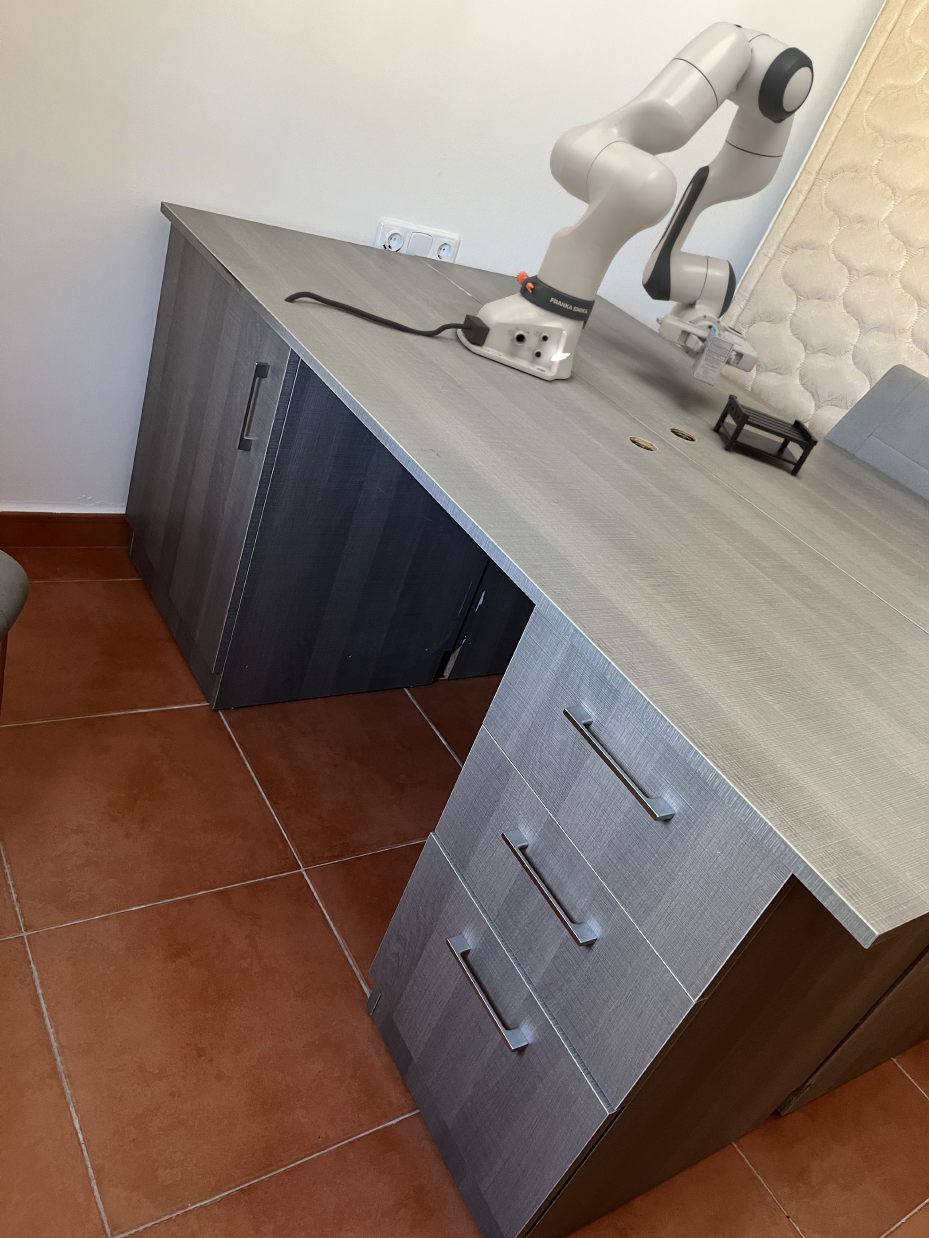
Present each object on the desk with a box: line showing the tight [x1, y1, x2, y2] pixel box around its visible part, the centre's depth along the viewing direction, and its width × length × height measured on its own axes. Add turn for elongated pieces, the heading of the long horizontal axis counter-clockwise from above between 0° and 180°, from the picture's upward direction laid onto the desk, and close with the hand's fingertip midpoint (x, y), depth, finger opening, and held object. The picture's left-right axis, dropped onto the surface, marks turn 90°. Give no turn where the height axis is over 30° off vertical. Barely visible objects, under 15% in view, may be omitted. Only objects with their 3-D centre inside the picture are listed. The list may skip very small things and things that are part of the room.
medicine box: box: [691, 328, 735, 387], centre depth 178 cm, size 8×4×9 cm, turn 169°
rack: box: [712, 394, 819, 477], centre depth 175 cm, size 15×11×7 cm
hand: (715, 354), depth 177 cm, fingers closed on medicine box, 5 cm apart
